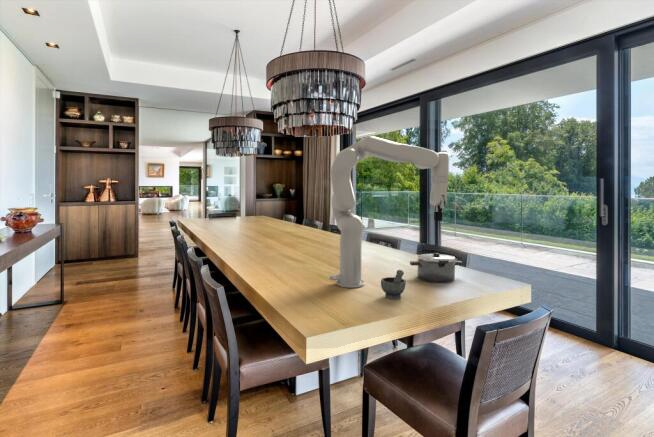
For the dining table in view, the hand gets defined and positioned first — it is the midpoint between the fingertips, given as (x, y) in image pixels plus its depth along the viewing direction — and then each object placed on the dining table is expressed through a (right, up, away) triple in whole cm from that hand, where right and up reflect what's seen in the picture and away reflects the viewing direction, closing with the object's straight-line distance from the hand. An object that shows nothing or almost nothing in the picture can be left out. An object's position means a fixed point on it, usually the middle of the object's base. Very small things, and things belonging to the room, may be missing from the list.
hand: (438, 220), depth 164 cm
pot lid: (+1, -19, +5) cm, 19 cm away
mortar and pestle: (-25, -31, -23) cm, 45 cm away
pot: (+1, -28, +7) cm, 29 cm away
